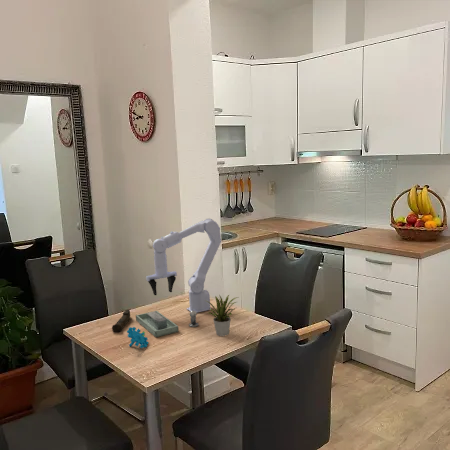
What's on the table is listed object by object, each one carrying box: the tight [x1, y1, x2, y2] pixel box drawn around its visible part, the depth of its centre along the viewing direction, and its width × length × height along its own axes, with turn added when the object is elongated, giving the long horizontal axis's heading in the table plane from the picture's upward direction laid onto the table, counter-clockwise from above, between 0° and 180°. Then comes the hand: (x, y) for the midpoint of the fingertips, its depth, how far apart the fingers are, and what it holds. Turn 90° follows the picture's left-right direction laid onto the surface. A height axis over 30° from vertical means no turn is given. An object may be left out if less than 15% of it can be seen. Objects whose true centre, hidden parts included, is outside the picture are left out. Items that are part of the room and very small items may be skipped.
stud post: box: [188, 310, 200, 328], centre depth 197 cm, size 4×4×7 cm
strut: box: [145, 310, 167, 330], centre depth 198 cm, size 4×14×4 cm, turn 30°
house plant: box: [207, 294, 240, 337], centre depth 185 cm, size 14×14×16 cm
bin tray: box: [135, 310, 179, 338], centre depth 199 cm, size 10×24×2 cm, turn 30°
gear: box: [126, 326, 149, 349], centre depth 178 cm, size 11×6×10 cm
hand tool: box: [111, 309, 131, 334], centre depth 202 cm, size 19×4×5 cm, turn 173°
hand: (162, 293), depth 213 cm, fingers open, 7 cm apart
